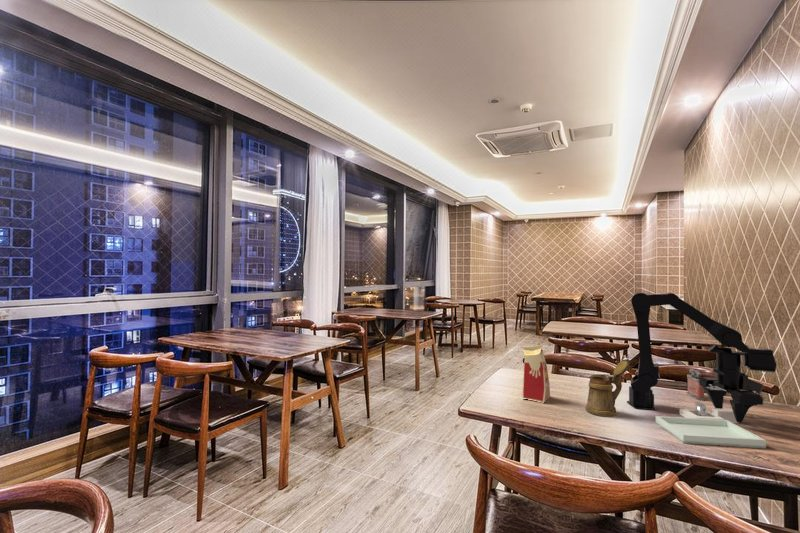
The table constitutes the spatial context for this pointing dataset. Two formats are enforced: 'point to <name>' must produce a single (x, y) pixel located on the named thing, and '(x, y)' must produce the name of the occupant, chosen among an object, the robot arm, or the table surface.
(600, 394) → the wooden mug
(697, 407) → the grey knob with bar
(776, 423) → the table surface
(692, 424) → the tray
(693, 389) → the lighter
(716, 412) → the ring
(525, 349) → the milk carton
